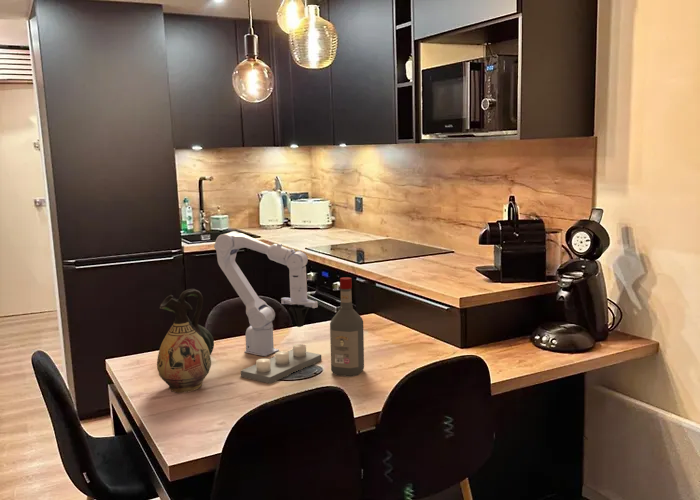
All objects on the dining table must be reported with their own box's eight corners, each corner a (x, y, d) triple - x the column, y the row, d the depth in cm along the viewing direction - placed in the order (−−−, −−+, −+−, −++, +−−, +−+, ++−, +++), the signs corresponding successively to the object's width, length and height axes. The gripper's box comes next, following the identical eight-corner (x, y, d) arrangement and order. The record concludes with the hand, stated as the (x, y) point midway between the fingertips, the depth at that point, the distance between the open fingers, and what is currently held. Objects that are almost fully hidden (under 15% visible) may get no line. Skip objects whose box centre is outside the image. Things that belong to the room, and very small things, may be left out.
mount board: (240, 376, 203) (240, 370, 202) (293, 354, 224) (293, 349, 224) (270, 383, 196) (269, 377, 196) (321, 360, 217) (321, 354, 217)
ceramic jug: (162, 400, 184) (156, 297, 180) (155, 383, 198) (149, 287, 194) (222, 391, 191) (217, 290, 186) (211, 375, 205) (206, 281, 200)
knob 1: (253, 377, 202) (253, 361, 201) (263, 373, 206) (262, 357, 205) (264, 379, 200) (263, 363, 199) (273, 375, 203) (273, 360, 203)
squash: (196, 335, 231) (174, 310, 220) (228, 342, 223) (207, 317, 213) (174, 369, 223) (150, 345, 213) (207, 378, 216) (184, 354, 205)
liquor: (356, 377, 200) (354, 281, 195) (328, 375, 203) (326, 280, 198) (366, 368, 208) (364, 276, 204) (339, 365, 211) (337, 275, 207)
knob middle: (272, 368, 209) (272, 353, 209) (281, 365, 213) (281, 350, 212) (283, 371, 207) (282, 356, 206) (292, 367, 211) (291, 352, 210)
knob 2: (290, 361, 217) (290, 346, 216) (298, 357, 220) (298, 343, 220) (301, 363, 214) (300, 348, 214) (309, 359, 218) (308, 345, 217)
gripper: (274, 287, 222) (276, 326, 224) (307, 291, 214) (309, 331, 216) (288, 283, 228) (289, 321, 230) (320, 287, 219) (322, 326, 221)
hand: (300, 326), depth 223 cm, fingers closed
